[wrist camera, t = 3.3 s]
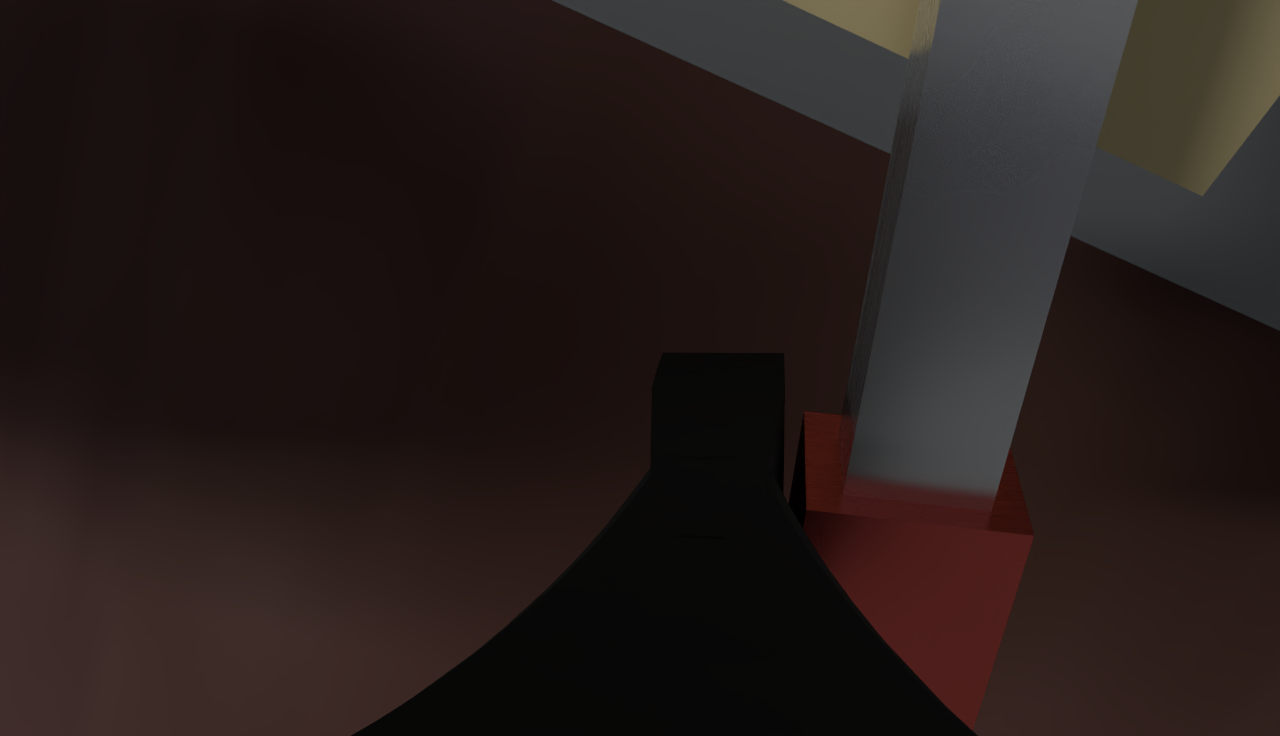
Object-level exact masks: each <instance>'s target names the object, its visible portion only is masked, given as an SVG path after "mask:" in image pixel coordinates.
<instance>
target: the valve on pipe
mask: <svg viewBox="0 0 1280 736" xmlns="http://www.w3.org/2000/svg"><path fill="white" fill-rule="evenodd" d="M552 1H555V2H557V3H559V4H561V5H563V6H566V7H568V8H570V9H572V10H574V11H577V12H579V13H581V14H583V15H585V16H588V17H590V18H592V19H594V20H596V21H599V22H601V23H603V24H605V25H607V26H610V27H612V28H614V29H616V30H618V31H621V32H623V33H625V34H627V35H629V36H632V37H634V38H636V39H638V40H640V41H643V42H645V43H647V44H649V45H651V46H654V47H656V48H658V49H660V50H662V51H665V52H667V53H669V54H671V55H673V56H676V57H678V58H680V59H682V60H685V61H687V62H689V63H691V64H693V65H696V66H698V67H700V68H702V69H704V70H707V71H709V72H711V73H713V74H715V75H718V76H720V77H722V78H724V79H726V80H729V81H731V82H733V83H735V84H737V85H740V86H742V87H744V88H746V89H748V90H751V91H753V92H755V93H757V94H759V95H762V96H764V97H766V98H768V99H770V100H773V101H775V102H777V103H779V104H781V105H784V106H786V107H788V108H790V109H792V110H795V111H797V112H799V113H801V114H803V115H806V116H808V117H810V118H812V119H814V120H817V121H819V122H821V123H823V124H825V125H828V126H830V127H832V128H834V129H836V130H839V131H841V132H843V133H845V134H847V135H850V136H852V137H854V138H856V139H858V140H861V141H863V142H865V143H867V144H869V145H872V146H874V147H876V148H878V149H880V150H883V151H885V152H887V153H889V154H891V150H892V145H893V140H894V134H895V129H896V124H897V118H898V113H899V108H900V103H901V97H902V92H903V87H904V81H905V76H906V71H907V65H908V60H909V55H910V49H911V44H912V39H913V33H914V28H915V23H916V18H917V12H918V7H919V2H920V0H552ZM1071 236H1072V237H1074V238H1076V239H1079V240H1081V241H1083V242H1085V243H1087V244H1090V245H1092V246H1094V247H1096V248H1098V249H1101V250H1103V251H1105V252H1107V253H1109V254H1112V255H1114V256H1116V257H1118V258H1120V259H1123V260H1125V261H1127V262H1129V263H1131V264H1134V265H1136V266H1138V267H1140V268H1142V269H1145V270H1147V271H1149V272H1151V273H1153V274H1156V275H1158V276H1160V277H1162V278H1164V279H1167V280H1169V281H1171V282H1173V283H1175V284H1178V285H1180V286H1182V287H1184V288H1186V289H1189V290H1191V291H1193V292H1195V293H1197V294H1200V295H1202V296H1204V297H1206V298H1209V299H1211V300H1213V301H1215V302H1217V303H1220V304H1222V305H1224V306H1226V307H1228V308H1231V309H1233V310H1235V311H1237V312H1239V313H1242V314H1244V315H1246V316H1248V317H1250V318H1253V319H1255V320H1257V321H1259V322H1261V323H1264V324H1266V325H1268V326H1270V327H1272V328H1275V329H1277V330H1279V331H1280V0H1138V2H1137V6H1136V9H1135V13H1134V16H1133V20H1132V23H1131V27H1130V30H1129V34H1128V37H1127V41H1126V44H1125V48H1124V51H1123V55H1122V58H1121V62H1120V65H1119V69H1118V72H1117V75H1116V79H1115V82H1114V86H1113V89H1112V93H1111V96H1110V100H1109V103H1108V107H1107V110H1106V114H1105V117H1104V121H1103V124H1102V128H1101V131H1100V135H1099V138H1098V142H1097V145H1096V149H1095V152H1094V156H1093V159H1092V163H1091V166H1090V170H1089V173H1088V177H1087V180H1086V184H1085V187H1084V191H1083V194H1082V198H1081V201H1080V204H1079V208H1078V211H1077V215H1076V218H1075V222H1074V225H1073V229H1072V232H1071Z"/></svg>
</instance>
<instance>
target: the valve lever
mask: <svg viewBox="0 0 1280 736" xmlns="http://www.w3.org/2000/svg"><path fill="white" fill-rule="evenodd" d="M1137 2H1138V0H920V2H919V7H918V12H917V18H916V23H915V28H914V33H913V39H912V44H911V49H910V55H909V60H908V65H907V71H906V76H905V81H904V87H903V92H902V97H901V103H900V108H899V113H898V118H897V124H896V129H895V134H894V140H893V145H892V150H891V156H890V161H889V166H888V172H887V177H886V182H885V188H884V193H883V198H882V203H881V209H880V214H879V219H878V225H877V230H876V235H875V241H874V246H873V251H872V257H871V262H870V267H869V273H868V278H867V283H866V289H865V294H864V299H863V304H862V310H861V315H860V320H859V326H858V331H857V336H856V342H855V347H854V352H853V358H852V363H851V368H850V374H849V379H848V384H847V389H846V395H845V400H844V405H843V411H842V415H834V414H825V413H816V412H807V411H804V415H803V421H802V427H801V433H800V439H799V445H798V451H797V457H796V463H795V469H794V475H793V481H792V487H791V493H790V499H789V506H790V508H791V509H792V511H793V513H794V514H795V516H796V518H797V519H798V521H799V523H800V525H801V526H802V528H803V530H804V531H805V533H806V535H807V536H808V538H809V540H810V541H811V543H812V544H813V546H814V547H815V549H816V550H817V552H818V554H819V555H820V557H821V558H822V560H823V561H824V562H825V564H826V565H827V567H828V568H829V570H830V571H831V573H832V574H833V575H834V577H835V578H836V579H837V581H838V582H839V584H840V585H841V586H842V588H843V589H844V590H845V592H846V593H847V594H848V596H849V597H850V599H851V600H852V601H853V602H854V604H855V605H856V606H857V607H858V609H859V610H860V611H861V612H862V614H863V615H864V616H865V617H866V619H867V620H868V621H869V622H870V624H871V625H872V626H873V627H874V629H875V630H876V631H877V632H878V633H879V635H880V636H881V637H882V638H883V639H884V641H885V642H886V643H887V644H888V645H889V646H890V647H891V648H892V649H893V650H894V651H895V652H896V653H897V654H898V656H899V657H900V658H901V659H902V660H903V661H904V662H905V663H906V664H907V665H908V666H909V667H910V668H911V669H912V670H913V671H914V673H915V674H916V675H917V676H918V677H919V678H920V679H921V680H922V681H923V682H924V683H925V684H926V685H927V686H928V687H929V689H930V690H931V691H932V692H933V693H934V694H935V695H936V696H937V697H938V698H939V699H940V700H941V701H942V702H943V703H944V704H945V706H946V707H948V708H949V709H950V710H951V711H952V712H953V713H954V714H955V715H956V716H957V717H958V718H959V719H960V720H962V721H963V722H964V723H965V724H966V725H967V726H968V727H969V728H970V729H971V730H972V731H973V728H974V725H975V722H976V719H977V715H978V712H979V709H980V706H981V703H982V700H983V696H984V693H985V690H986V687H987V684H988V681H989V677H990V674H991V671H992V668H993V665H994V662H995V659H996V655H997V652H998V649H999V646H1000V643H1001V640H1002V636H1003V633H1004V630H1005V627H1006V624H1007V621H1008V617H1009V614H1010V611H1011V608H1012V605H1013V602H1014V599H1015V595H1016V592H1017V589H1018V586H1019V583H1020V580H1021V576H1022V573H1023V570H1024V567H1025V564H1026V561H1027V557H1028V554H1029V551H1030V548H1031V545H1032V542H1033V539H1034V533H1033V529H1032V526H1031V522H1030V518H1029V515H1028V511H1027V507H1026V503H1025V500H1024V496H1023V492H1022V489H1021V485H1020V481H1019V478H1018V474H1017V470H1016V467H1015V463H1014V459H1013V455H1012V452H1011V448H1010V445H1011V441H1012V438H1013V435H1014V431H1015V428H1016V424H1017V421H1018V417H1019V414H1020V410H1021V407H1022V403H1023V400H1024V396H1025V393H1026V389H1027V386H1028V382H1029V379H1030V375H1031V372H1032V368H1033V365H1034V361H1035V358H1036V354H1037V351H1038V347H1039V344H1040V340H1041V337H1042V333H1043V330H1044V326H1045V323H1046V319H1047V316H1048V313H1049V309H1050V306H1051V302H1052V299H1053V295H1054V292H1055V288H1056V285H1057V281H1058V278H1059V274H1060V271H1061V267H1062V264H1063V260H1064V257H1065V253H1066V250H1067V246H1068V243H1069V239H1070V236H1071V232H1072V229H1073V225H1074V222H1075V218H1076V215H1077V211H1078V208H1079V204H1080V201H1081V198H1082V194H1083V191H1084V187H1085V184H1086V180H1087V177H1088V173H1089V170H1090V166H1091V163H1092V159H1093V156H1094V152H1095V149H1096V145H1097V142H1098V138H1099V135H1100V131H1101V128H1102V124H1103V121H1104V117H1105V114H1106V110H1107V107H1108V103H1109V100H1110V96H1111V93H1112V89H1113V86H1114V82H1115V79H1116V75H1117V72H1118V69H1119V65H1120V62H1121V58H1122V55H1123V51H1124V48H1125V44H1126V41H1127V37H1128V34H1129V30H1130V27H1131V23H1132V20H1133V16H1134V13H1135V9H1136V6H1137Z"/></svg>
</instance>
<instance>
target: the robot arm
mask: <svg viewBox="0 0 1280 736" xmlns="http://www.w3.org/2000/svg"><path fill="white" fill-rule="evenodd" d="M784 406H785V374H784V353H663V355H662V357H661V360H660V363H659V366H658V368H657V372H656V375H655V379H654V382H653V386H652V420H651V468H650V469H649V471H648V472H647V474H646V475H645V476H644V478H643V479H642V481H641V482H640V483H639V484H638V486H637V487H636V488H635V489H634V491H633V492H632V493H631V495H630V496H629V497H628V498H627V500H626V501H625V502H624V504H623V505H622V506H621V507H620V509H619V510H618V511H617V513H616V514H615V515H614V516H613V518H612V519H611V520H610V521H609V523H608V524H607V525H606V526H605V528H604V529H603V530H602V531H601V532H600V533H599V534H598V536H597V537H596V538H595V539H594V540H593V541H592V542H591V544H590V545H589V546H588V547H587V548H586V549H585V550H584V551H583V552H582V553H581V555H580V556H579V557H578V558H577V559H576V560H575V561H574V562H573V563H572V564H571V565H570V566H569V567H568V568H567V569H566V570H565V571H564V572H563V573H562V574H561V575H560V576H559V577H558V578H557V579H556V580H555V582H554V583H553V584H552V585H550V586H549V587H548V588H547V589H546V590H545V591H544V592H543V593H542V594H541V595H540V596H539V597H538V598H537V599H535V600H534V601H533V602H532V603H531V604H530V605H529V606H528V607H527V608H526V609H524V610H523V611H522V612H521V613H520V614H519V615H518V616H517V617H516V618H515V619H513V620H512V621H511V622H510V623H509V624H508V625H507V626H506V627H505V628H504V629H502V630H501V631H500V632H499V633H498V634H496V635H495V636H494V637H493V638H492V639H490V640H489V641H488V642H487V643H486V644H484V645H483V646H482V647H481V648H479V649H478V650H477V651H476V652H474V653H473V654H472V655H471V656H469V657H468V658H467V659H465V660H464V661H462V662H461V663H460V664H458V665H457V666H456V667H454V668H453V669H451V670H450V671H449V672H447V673H446V674H445V675H443V676H442V677H441V678H439V679H438V680H436V681H435V682H434V683H432V684H431V685H430V686H428V687H427V688H425V689H424V690H423V691H421V692H420V693H418V694H417V695H415V696H414V697H413V698H411V699H410V700H408V701H407V702H405V703H404V704H402V705H401V706H399V707H398V708H396V709H394V710H393V711H391V712H390V713H388V714H387V715H385V716H383V717H382V718H380V719H379V720H377V721H376V722H374V723H372V724H370V725H369V726H367V727H365V728H363V729H362V730H360V731H358V732H357V733H355V734H353V735H351V736H978V735H977V734H976V733H974V732H973V731H972V730H971V729H970V728H969V727H968V726H967V725H966V724H965V723H964V722H963V721H962V720H960V719H959V718H958V717H957V716H956V715H955V714H954V713H953V712H952V711H951V710H950V709H949V708H948V707H946V706H945V704H944V703H943V702H942V701H941V700H940V699H939V698H938V697H937V696H936V695H935V694H934V693H933V692H932V691H931V690H930V689H929V687H928V686H927V685H926V684H925V683H924V682H923V681H922V680H921V679H920V678H919V677H918V676H917V675H916V674H915V673H914V671H913V670H912V669H911V668H910V667H909V666H908V665H907V664H906V663H905V662H904V661H903V660H902V659H901V658H900V657H899V656H898V654H897V653H896V652H895V651H894V650H893V649H892V648H891V647H890V646H889V645H888V644H887V643H886V642H885V641H884V639H883V638H882V637H881V636H880V635H879V633H878V632H877V631H876V630H875V629H874V627H873V626H872V625H871V624H870V622H869V621H868V620H867V619H866V617H865V616H864V615H863V614H862V612H861V611H860V610H859V609H858V607H857V606H856V605H855V604H854V602H853V601H852V600H851V599H850V597H849V596H848V594H847V593H846V592H845V590H844V589H843V588H842V586H841V585H840V584H839V582H838V581H837V579H836V578H835V577H834V575H833V574H832V573H831V571H830V570H829V568H828V567H827V565H826V564H825V562H824V561H823V560H822V558H821V557H820V555H819V554H818V552H817V550H816V549H815V547H814V546H813V544H812V543H811V541H810V540H809V538H808V536H807V535H806V533H805V531H804V530H803V528H802V526H801V525H800V523H799V521H798V519H797V518H796V516H795V514H794V513H793V511H792V509H791V508H790V506H789V504H788V502H787V500H786V499H785V497H784V495H783V480H784Z"/></svg>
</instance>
